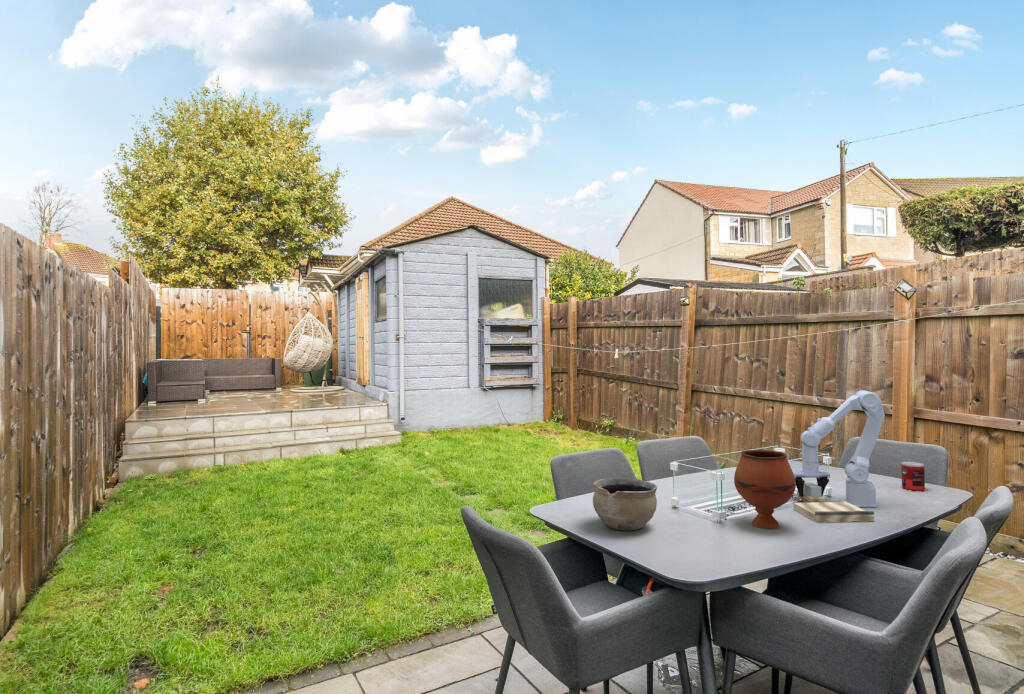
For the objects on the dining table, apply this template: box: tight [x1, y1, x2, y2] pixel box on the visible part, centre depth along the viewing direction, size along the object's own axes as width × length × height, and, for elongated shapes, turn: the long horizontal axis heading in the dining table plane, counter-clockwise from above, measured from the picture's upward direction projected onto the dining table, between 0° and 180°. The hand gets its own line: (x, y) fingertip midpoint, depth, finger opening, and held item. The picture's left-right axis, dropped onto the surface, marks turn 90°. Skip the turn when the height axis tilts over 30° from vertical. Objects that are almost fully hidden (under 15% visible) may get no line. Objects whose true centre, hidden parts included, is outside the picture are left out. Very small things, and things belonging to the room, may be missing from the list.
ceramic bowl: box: [592, 477, 658, 531], centre depth 192 cm, size 22×22×15 cm
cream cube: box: [803, 481, 817, 495], centre depth 221 cm, size 4×4×4 cm
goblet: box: [733, 449, 797, 530], centre depth 191 cm, size 19×19×25 cm
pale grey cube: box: [806, 484, 822, 497], centre depth 217 cm, size 4×4×4 cm
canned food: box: [900, 461, 926, 492], centre depth 235 cm, size 8×8×11 cm
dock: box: [793, 501, 875, 523], centre depth 201 cm, size 20×16×4 cm
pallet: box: [796, 490, 827, 503], centre depth 219 cm, size 6×11×3 cm, turn 0°
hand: (810, 496), depth 219 cm, fingers open, 7 cm apart
